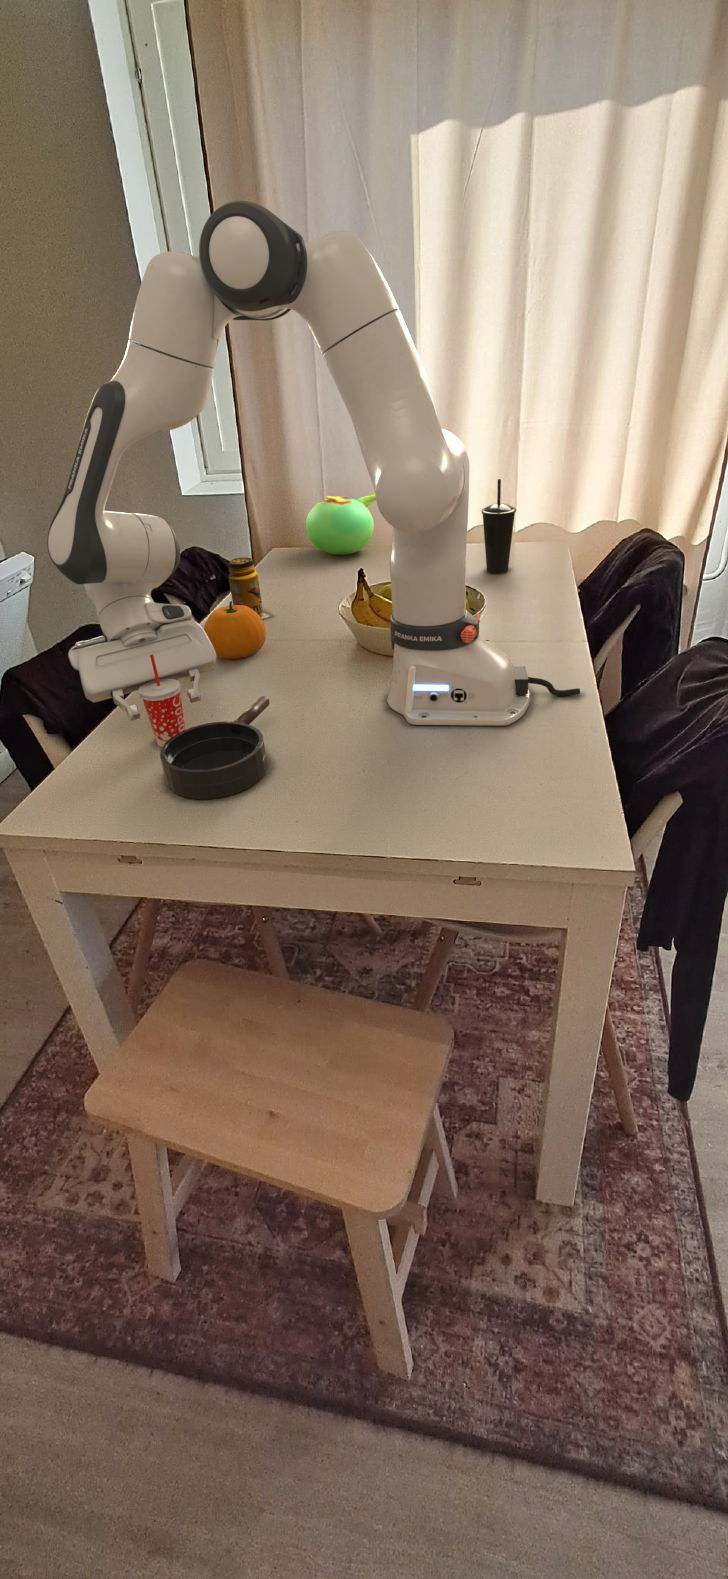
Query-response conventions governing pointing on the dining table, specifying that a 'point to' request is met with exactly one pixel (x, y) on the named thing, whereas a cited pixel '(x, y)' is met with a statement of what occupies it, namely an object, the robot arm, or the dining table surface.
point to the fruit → (235, 631)
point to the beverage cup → (163, 706)
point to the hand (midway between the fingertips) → (166, 709)
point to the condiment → (245, 585)
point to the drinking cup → (498, 534)
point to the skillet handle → (252, 713)
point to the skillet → (214, 760)
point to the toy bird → (340, 524)
